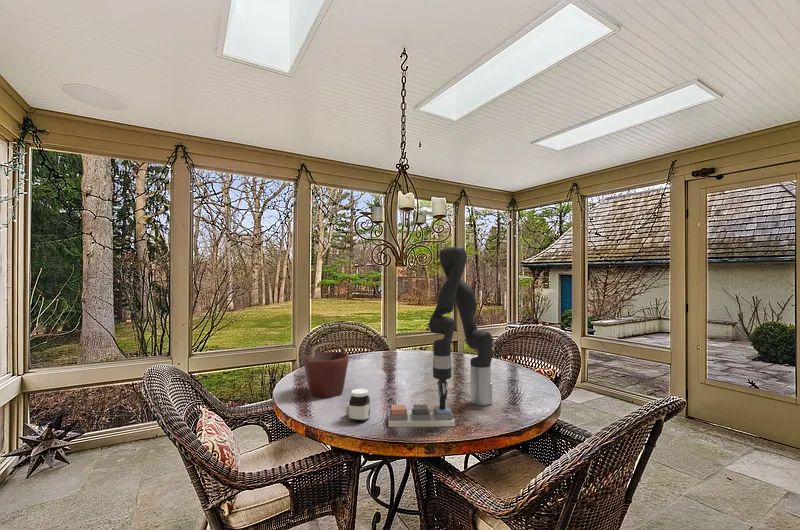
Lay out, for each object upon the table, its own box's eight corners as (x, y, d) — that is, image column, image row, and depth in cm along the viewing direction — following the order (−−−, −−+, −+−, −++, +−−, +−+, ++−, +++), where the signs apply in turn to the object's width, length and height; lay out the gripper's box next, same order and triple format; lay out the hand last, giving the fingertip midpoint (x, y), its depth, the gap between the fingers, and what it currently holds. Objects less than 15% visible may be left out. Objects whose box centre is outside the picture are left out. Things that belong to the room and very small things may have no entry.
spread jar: (364, 424, 153) (363, 395, 153) (338, 422, 156) (338, 393, 156) (374, 414, 165) (374, 386, 165) (349, 411, 168) (349, 384, 168)
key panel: (450, 416, 161) (450, 407, 161) (454, 426, 151) (454, 416, 151) (388, 417, 161) (388, 407, 161) (388, 427, 151) (388, 416, 151)
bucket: (313, 403, 178) (313, 349, 178) (293, 392, 195) (293, 343, 195) (358, 393, 193) (357, 343, 194) (335, 383, 210) (335, 337, 211)
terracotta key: (405, 410, 159) (405, 404, 159) (405, 415, 153) (405, 409, 153) (391, 410, 158) (391, 404, 159) (391, 415, 153) (391, 409, 153)
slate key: (448, 411, 159) (448, 406, 159) (450, 416, 153) (450, 410, 153) (435, 412, 159) (435, 406, 159) (436, 417, 153) (436, 411, 153)
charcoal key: (426, 410, 159) (426, 404, 159) (428, 415, 153) (428, 409, 153) (413, 410, 159) (413, 404, 159) (414, 415, 153) (414, 409, 153)
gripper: (453, 369, 150) (454, 414, 149) (449, 361, 163) (449, 403, 163) (434, 370, 150) (434, 414, 149) (431, 362, 163) (431, 403, 163)
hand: (442, 408), depth 156 cm, fingers closed
